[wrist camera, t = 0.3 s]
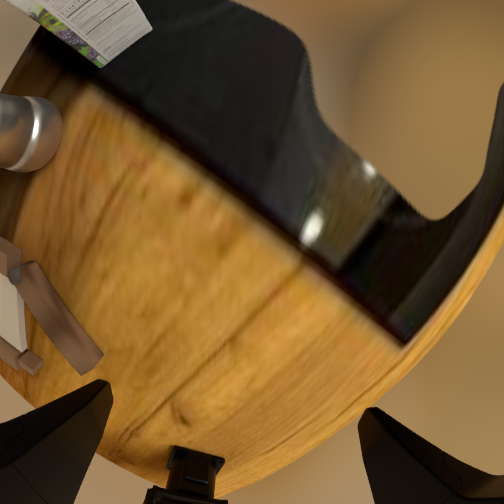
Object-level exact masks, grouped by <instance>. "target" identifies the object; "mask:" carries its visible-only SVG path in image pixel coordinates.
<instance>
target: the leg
mask: <svg viewBox="0 0 504 504" xmlns="http://www.w3.org/2000/svg"><path fill="white" fill-rule="evenodd" d="M8 279H9V281H10V283H11V284H12V285H15V287H16V289H17V290H18V292H19V294H20V295H21V297H22V299H23V300H24V302H25V303H26V305H27V307H28V308H29V310H30V311H31V313H32V314H33V316H34V317H35V319H36V320H37V321H38V323H39V324H40V326H41V327H42V328H43V330H44V331H45V333H46V334H47V335H48V337H49V338H50V339H51V341H52V342H53V343H54V344H55V346H56V347H57V348H58V349H59V351H60V352H61V353H62V354H63V356H64V357H65V358H66V359H67V360H68V362H69V363H70V364H71V365H72V366H73V367H74V369H75V370H76V371H77V372H78V373H79V374H80V375H81V376H82V375H84V374H85V373H87V372H88V371H90V370H92V369H93V368H94V367H95V366H96V364H97V363H98V362H99V360H100V359H101V358H102V357H103V355H104V354H103V353H102V352H101V351H100V350H99V348H98V347H97V346H96V345H95V344H94V343H93V341H92V340H91V339H90V338H89V337H88V335H87V334H86V333H85V332H84V330H83V329H82V328H81V326H80V325H79V324H78V323H77V321H76V320H75V319H74V317H73V316H72V315H71V313H70V312H69V311H68V309H67V308H66V306H65V305H64V304H63V302H62V301H61V299H60V298H59V296H58V295H57V294H56V292H55V291H54V289H53V288H52V286H51V284H50V283H49V281H48V280H47V278H46V277H45V275H44V273H43V272H42V270H41V269H40V267H39V265H38V264H37V262H34V261H30V262H27V263H25V264H23V265H20V266H18V267H16V268H14V269H11V270H9V272H8Z"/></svg>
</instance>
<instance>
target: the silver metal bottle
mask: <svg viewBox="0 0 504 504" xmlns="http://www.w3.org/2000/svg"><path fill="white" fill-rule="evenodd" d="M62 132H63V125H62V119H61V115H60V112H59V110H58V108H57V107H56V106H55V105H54V104H52V103H51V102H50V101H48V100H47V99H45V98H41V97H32V96H23V97H20V96H13V95H6V94H0V168H5V169H8V170H11V171H15V172H21V173H27V172H31V171H34V170H38V169H40V168H42V167H44V166H45V165H46V164H47V163H48V162H49V161H50V160H51V158H52V157H53V156H54V155H55V153H56V151H57V149H58V147H59V145H60V142H61V138H62Z"/></svg>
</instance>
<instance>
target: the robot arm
mask: <svg viewBox="0 0 504 504" xmlns="http://www.w3.org/2000/svg"><path fill="white" fill-rule="evenodd" d="M112 405H113V395H112V390H111V385H110V383H109V382H108V381H105V380H102V379H97V380H95V381H93V382H91V383H89V384H87V385H85V386H83V387H81V388H79V389H77V390H75V391H73V392H71V393H69V394H67V395H65V396H62V397H60V398H58V399H56V400H54V401H52V402H50V403H48V404H46V405H43V406H41V407H39V408H37V409H35V410H33V411H30V412H28V413H26V415H25V414H24V415H21V416H19V417H17V418H14V419H12V420H9V421H7V422H4V423H1V424H0V504H74V501H75V498H76V496H77V494H78V491H79V489H80V486H81V484H82V481H83V479H84V477H85V474H86V472H87V470H88V467H89V465H90V463H91V460H92V458H93V456H94V454H95V452H96V449H97V447H98V445H99V443H100V440H101V438H102V435H103V433H104V429H105V426H106V423H107V420H108V417H109V414H110V411H111V408H112ZM358 433H359V439H360V445H361V451H362V457H363V461H364V465H365V469H366V473H367V476H368V480H369V483H370V487H371V491H372V495H373V499H374V502H375V504H504V475H491V474H488V473H486V472H483V471H481V470H479V469H477V468H474V467H472V466H470V465H468V464H466V463H464V462H462V461H460V460H458V459H456V458H454V457H453V456H451V455H449V454H448V453H446V452H444V451H442V450H441V449H439V448H438V447H436V446H435V445H433V444H431V443H430V442H428V441H427V440H425V439H424V438H422V437H421V436H419V435H418V434H416V433H415V432H413V431H411V430H410V429H408V428H407V427H406V426H404V425H403V424H401V423H400V422H398V421H396V420H395V419H394V418H392V417H391V416H389V415H388V414H386V413H385V412H384V411H382V410H381V409H379V408H378V407H369V408H366V409H365V411H364V413H363V415H362V417H361V419H360V420H359V423H358ZM224 463H225V459H224V458H220V457H215V456H211V455H207V454H203V453H199V452H195V451H192V450H188V449H185V448H181V447H178V446H174V447H173V450H172V452H171V455H170V458H169V461H168V464H167V467H166V468H167V469H169V470H170V472H169V477H168V481H167V485H166V489H164V488H160V487H158V486H156V485H154V486H153V488H151V489H148V490H147V494H146V497H145V500H144V503H143V504H228V500H218V499H214V490H215V479H216V475H217V473H218V472H219V471H220V469H221V468H222V466H223V465H224Z"/></svg>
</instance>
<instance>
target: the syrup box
mask: <svg viewBox="0 0 504 504" xmlns="http://www.w3.org/2000/svg"><path fill="white" fill-rule="evenodd" d="M5 1H6V2H8V3H9V4H11V5H13V6H14V7H16V8H17V9H19V10H20V11H22V12H23V13H25V14H26V15H28V16H29V17H30V18H32V19H33V20H35V21H36V22H38V23H39V24H41V25H42V26H43V27H45V28H46V29H47V30H49V31H50V32H52V33H53V34H55V35H56V36H57V37H59V38H60V39H62V40H63V41H64V42H66V43H67V44H68V45H70V46H71V47H73V48H74V49H75V50H77V51H78V52H79V53H81V54H82V55H83V56H85V57H86V58H87V59H89V60H90V61H91V62H92V63H94V64H95V65H96V66H98V67H99V68H101V67H104V66H105V65H106V64H107V63H108V62H110V61H111V60H112V59H113V58H114V57H116V56H117V55H118V54H120V53H121V52H122V51H124V50H125V49H126V48H127V47H129V46H130V45H132V44H133V43H134V42H136V41H137V40H138V39H140V38H141V37H143V36H144V35H145V34H147V33H148V32H150V31H151V30H152V29H153V28H152V27H151V25H150V23H149V22H148V20H147V18H146V17H145V15H144V13H143V12H142V10H141V8H140V7H139V5H138V4H137V2H136V0H5Z"/></svg>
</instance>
